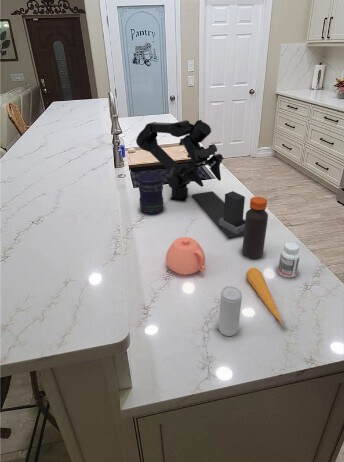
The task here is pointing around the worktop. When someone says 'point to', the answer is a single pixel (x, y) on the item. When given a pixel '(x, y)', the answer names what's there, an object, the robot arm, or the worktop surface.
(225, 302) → the beverage can
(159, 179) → the storage jar
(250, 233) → the vinegar
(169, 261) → the pink dome with handle
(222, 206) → the base pad
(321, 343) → the worktop surface
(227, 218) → the pad block
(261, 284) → the carrot
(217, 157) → the robot arm
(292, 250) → the pill bottle
